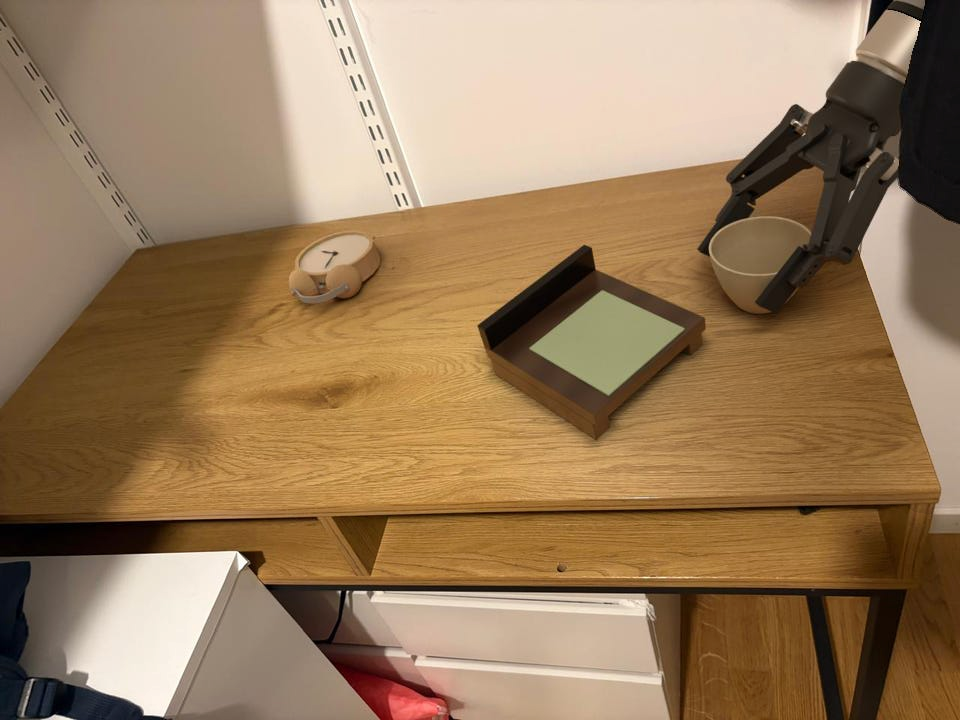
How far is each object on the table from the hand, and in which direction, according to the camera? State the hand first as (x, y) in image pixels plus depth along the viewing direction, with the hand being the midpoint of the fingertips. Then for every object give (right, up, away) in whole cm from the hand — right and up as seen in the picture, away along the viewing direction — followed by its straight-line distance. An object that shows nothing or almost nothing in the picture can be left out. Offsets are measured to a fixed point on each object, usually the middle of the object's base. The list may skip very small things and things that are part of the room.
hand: (734, 280), depth 76 cm
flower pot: (+4, -2, +3) cm, 5 cm away
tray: (-14, -8, +2) cm, 16 cm away
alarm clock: (-45, +3, +26) cm, 52 cm away
